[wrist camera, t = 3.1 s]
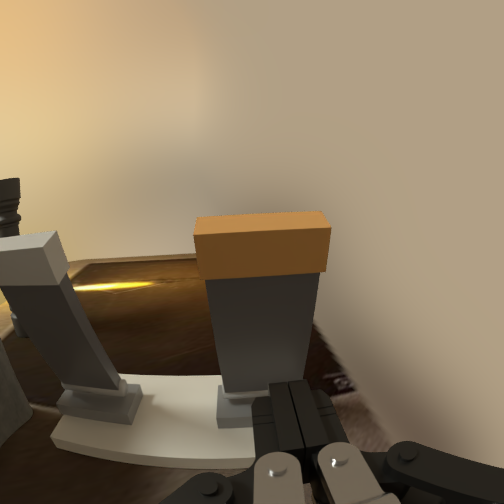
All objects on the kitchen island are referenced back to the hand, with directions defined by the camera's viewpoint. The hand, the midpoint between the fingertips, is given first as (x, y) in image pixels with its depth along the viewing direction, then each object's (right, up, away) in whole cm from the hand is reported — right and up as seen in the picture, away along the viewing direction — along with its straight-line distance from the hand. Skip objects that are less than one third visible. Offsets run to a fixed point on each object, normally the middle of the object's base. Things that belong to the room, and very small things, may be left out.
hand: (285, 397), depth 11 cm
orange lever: (0, -5, +12) cm, 13 cm away
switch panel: (-8, -10, +12) cm, 17 cm away
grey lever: (-15, -6, +11) cm, 20 cm away
